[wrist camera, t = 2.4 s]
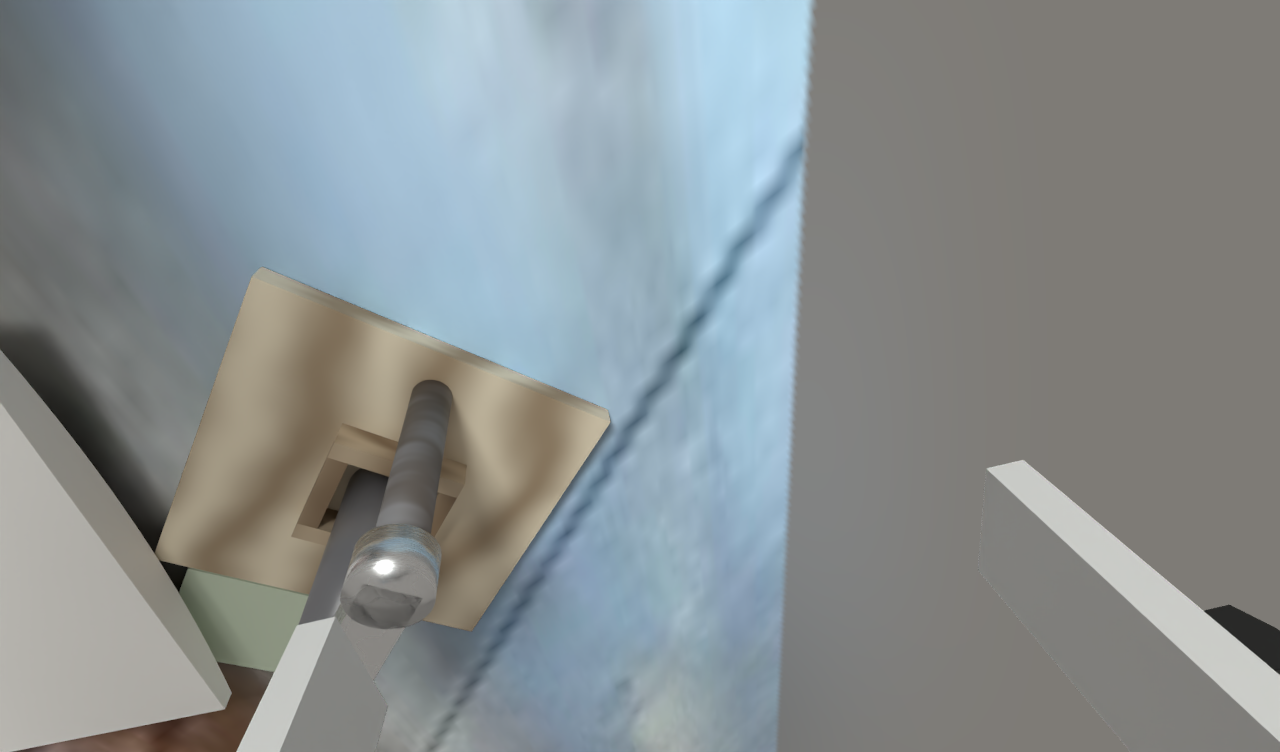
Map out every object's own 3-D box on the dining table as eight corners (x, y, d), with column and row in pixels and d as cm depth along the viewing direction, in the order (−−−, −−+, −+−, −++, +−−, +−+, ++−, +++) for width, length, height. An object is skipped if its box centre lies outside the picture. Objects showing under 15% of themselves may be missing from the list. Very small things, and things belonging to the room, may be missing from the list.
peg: (337, 503, 41) (279, 667, 30) (361, 454, 39) (308, 610, 29) (404, 522, 42) (369, 684, 32) (429, 476, 41) (401, 630, 31)
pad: (161, 641, 46) (156, 651, 45) (193, 559, 43) (187, 568, 42) (353, 676, 51) (351, 685, 51) (394, 606, 48) (392, 615, 48)
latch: (266, 716, 31) (249, 766, 29) (371, 513, 26) (358, 557, 24) (341, 727, 32) (329, 776, 30) (454, 537, 27) (449, 580, 25)
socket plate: (163, 542, 42) (19, 760, 29) (261, 266, 34) (119, 409, 22) (472, 615, 50) (459, 808, 38) (607, 409, 42) (645, 569, 30)
